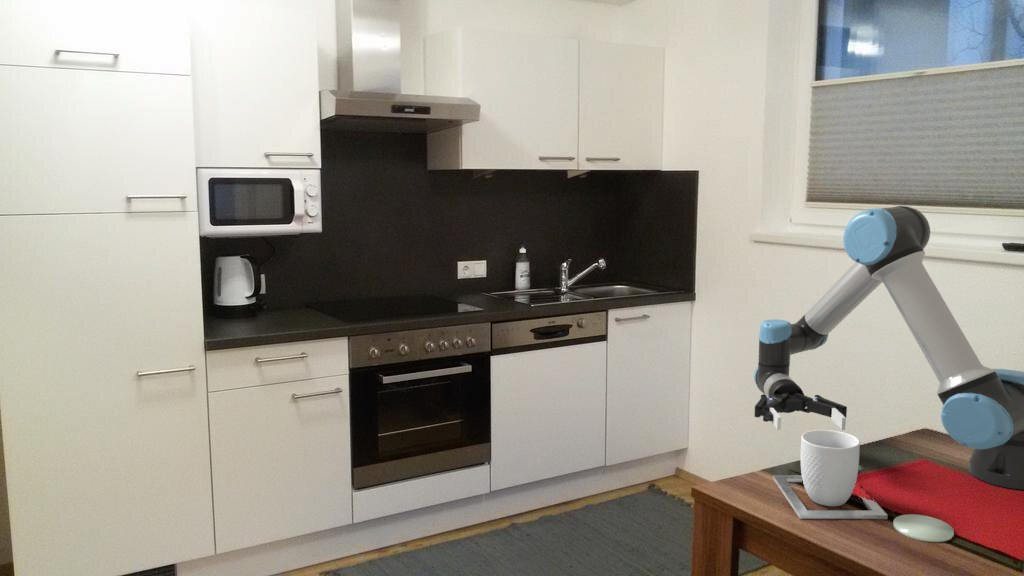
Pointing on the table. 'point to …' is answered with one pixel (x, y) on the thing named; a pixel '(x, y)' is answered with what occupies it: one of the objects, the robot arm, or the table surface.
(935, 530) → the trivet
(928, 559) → the table surface
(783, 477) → the grey rectangular frame
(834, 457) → the mug
